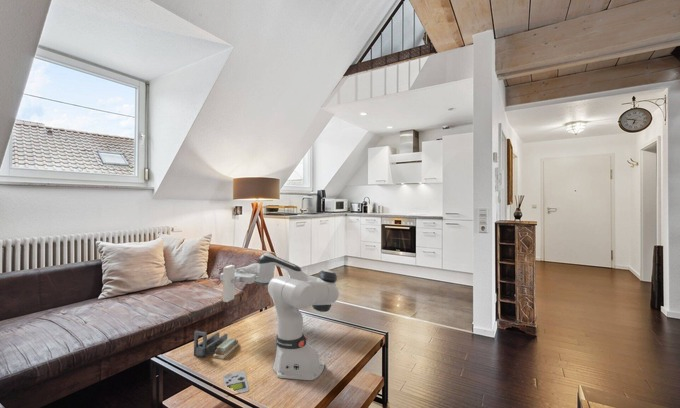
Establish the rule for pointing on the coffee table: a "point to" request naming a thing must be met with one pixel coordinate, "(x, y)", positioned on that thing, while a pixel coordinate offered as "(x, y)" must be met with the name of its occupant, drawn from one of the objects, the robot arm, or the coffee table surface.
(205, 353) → the slot rack
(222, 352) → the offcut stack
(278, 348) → the robot arm
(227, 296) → the white rectangular slab
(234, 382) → the handheld gaming device
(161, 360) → the coffee table surface
